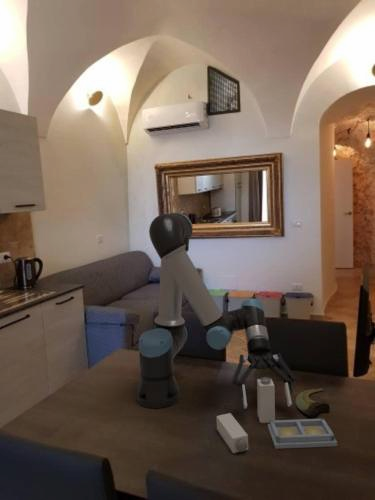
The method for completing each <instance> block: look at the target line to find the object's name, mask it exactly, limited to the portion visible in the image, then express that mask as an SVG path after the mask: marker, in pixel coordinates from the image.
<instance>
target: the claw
mask: <svg viewBox="0 0 375 500" xmlns="http://www.w3.org/2000/svg"><path fill="white" fill-rule="evenodd" d="M321 391H324V388H312V389H307V390H304V391H302V392H300V393H299V394H297V396H296V397H295V401H294V403H295V405H296V407H297V409H299V411H300V412H302V413H303V414H304V415H306V416H308V417H310V419H315V417H316V415H319V414H321V413H329V412H330V405H329V403H328V402H325V401H319V400H317V401H315V400H313V399H311V398H310V395H312V394H314V393H317V392H321Z"/></svg>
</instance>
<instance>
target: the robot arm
mask: <svg viewBox="0 0 375 500" xmlns="http://www.w3.org/2000/svg"><path fill="white" fill-rule="evenodd" d="M148 229H149V230H148V234H149V239H150V241H151V244H152V246H153V248H154V249H155V251H156V254H157V256H158V257H159V258H160V276H159V278H160V279H159V293H158V294H159V297H158V299H159V302H158V314H157V316H156V317H155V318H154V322H153V323H154V324H153V328H151V329H149V330H146V331H144V332H143V333H142V334H141V335H140V336H139V339H138V353H139V355H138V356H139V369H140V380H139V384H138V387H137V391H136V401H137V403H138V404H139V405H140V406H143V407H145V408H149V409H161V408H167V407H169V406H172V405H174V404H175V403H177V402H178V400H180V397H181V395H180V394H181V393H180V392H181V391H180V387H179V385H178V383H177V380H176V377H175V374H174V358H175V357H176V356H177V355H178V353H179V352H180V351H181V350H182V348H184V347H185V344H186V342H187V339H188V331H187V327H186V325H185V324H186V321H185V319H184V317H182V310H183V309H182V303H183V294H184V296H185V297H186V299H187V301H188V302H189V305H190V306H191V308H192V310H193V311H194V313H195V315H196V316H197V318H198V321H199V323H200V324H201V325H202V327H203V329H204V330H205V332H206V337H205V338H206V342H207V345H208V346H210V348H212V349H214V350H218V351H219V350H223V349H225V348H226V347H227V346H228V344H230V342H231V341H232V337H233V335H234V333H235V332H240V331H243V330H244V332H245V340H246V348H247V349H246V350H247V355H244V354H240V355H239V360H238V364H237V367H236V370H235V373H234V375H233V378H232V381H231V385H232V386H236V387H237V391H238V396H239V397H240V398H242V403H243V409H247V408H248V402H247V401H248V400H247V395H246V393H247V392H246V386H245V384H244V383H245V381H246V380H247V379H248V377H249V376H250V374H251V372H253V370H255V369H256V370H257V371H258V370H267V369H268V370H269V371H271V372H272V373H274V374H275V375H276V376H277V378H279V379H280V380H281V381H283V383H284V385H283V388H284V393H285V399H286V403H287V407H292V405H293V402H292V397H291V396H292V395H293V393H294V392H293V386H292V384H294V383H295V382H296V380H297V376H295V374H294V373H293V371H292V370H291V369H290V368H289V366H288V364H287V363H286V362H285V361H284V359H283V357H282V354H281V352H278V353H277V354H273V353H272V351H271V346H270V340H269V334H268V328H267V323H266V318H265V311H264V307H263V302H262V301H261V300H260V299H257V298H248V299H245V300H243V301H242V303H241V306H240V308H237V309H232V310H229V311H224V312H221V310H220V308H219V306H218V305H217V303H216V301H215V299H214V298H213V296H212V294H211V292H210V291H209V289H208V287H207V286H206V284H205V281H204V280H203V279H202V277H201V275H200V273H199V271H198V270H197V269H196V267H195V264H194V263H193V261H192V260H191V258H190V256H189V255H188V252H189V250H190V249H189V248H190V246H189V245H190V239H191V237H192V235H193V230H194V229H193V224H192V221H191V219H189V217H188V216H187V215H185V214H183V213H179V212H170V213H163V214H160V215H158V216H156V217H155V218H153V220H152V221H151V223H150V225H149V228H148ZM273 360H275V362H277V363H278V365H279V366H280V368H281V369H282V370H281V369H280V368H279V367H278V366H277V365H276V364H275V363H274V362H273ZM247 361H248V363H249V366H248V367H247V369H246V370H245V372H244V373H243V375H241V377H240V379H239V375H240V373H241V370H242V368H243V366H244V365H243V364H245V363H246V362H247ZM238 379H239V380H238Z"/></svg>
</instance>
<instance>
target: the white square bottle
mask: <svg viewBox="0 0 375 500" xmlns="http://www.w3.org/2000/svg"><path fill="white" fill-rule="evenodd" d="M256 388H257V389H256V390H257V391H256V392H257V394H256V395H257V399H256V400H257V402H256V403H257V418H258V419H259V422H260V424H266V423H267V424H270V421H275V420H276V408H275V407H276V405H275V404H276V400H275V399H276V397H275V394H276V392H275V390H276V389H275V384H274V382H273V379H272V378H270V377H267V376H263V377H261V378H258V379H257V378H256Z"/></svg>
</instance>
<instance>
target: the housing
mask: <svg viewBox="0 0 375 500" xmlns="http://www.w3.org/2000/svg"><path fill="white" fill-rule="evenodd" d="M267 429H268V432H269V434H270V437H271V439H272V443H273V445H274V448H275V450H277V449H300V448H301V449H302V448H304V449H305V448H325V447H326V448H327V447H338V441H337V439H336V437H335V435H334V432H333V431H332V429H331V427H330V426H329V425H328V423H327V421H326V420H325V418H307V419H306V418H304V419H302V418H301V419H282V420H281V419H280V420H279V419H277V420H276V419H275V421H270V423H267Z"/></svg>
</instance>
